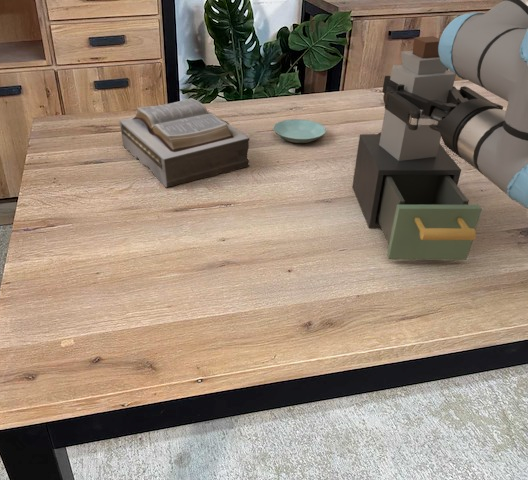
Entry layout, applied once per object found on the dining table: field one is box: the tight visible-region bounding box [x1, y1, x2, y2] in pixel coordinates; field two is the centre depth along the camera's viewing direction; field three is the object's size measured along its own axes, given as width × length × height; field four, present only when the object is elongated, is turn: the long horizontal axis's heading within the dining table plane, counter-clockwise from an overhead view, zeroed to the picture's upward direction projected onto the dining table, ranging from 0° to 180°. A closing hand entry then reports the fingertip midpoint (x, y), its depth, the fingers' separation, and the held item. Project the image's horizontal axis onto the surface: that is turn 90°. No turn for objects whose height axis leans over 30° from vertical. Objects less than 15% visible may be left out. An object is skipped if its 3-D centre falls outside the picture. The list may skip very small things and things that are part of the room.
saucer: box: [272, 118, 327, 144], centre depth 122 cm, size 12×12×2 cm
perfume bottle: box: [379, 35, 457, 161], centre depth 85 cm, size 7×7×18 cm
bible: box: [118, 97, 251, 189], centre depth 113 cm, size 23×27×10 cm
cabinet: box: [351, 133, 462, 229], centre depth 93 cm, size 15×13×11 cm
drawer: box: [376, 175, 483, 261], centre depth 82 cm, size 18×12×9 cm, turn 178°
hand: (404, 82), depth 89 cm, fingers closed on perfume bottle, 6 cm apart
